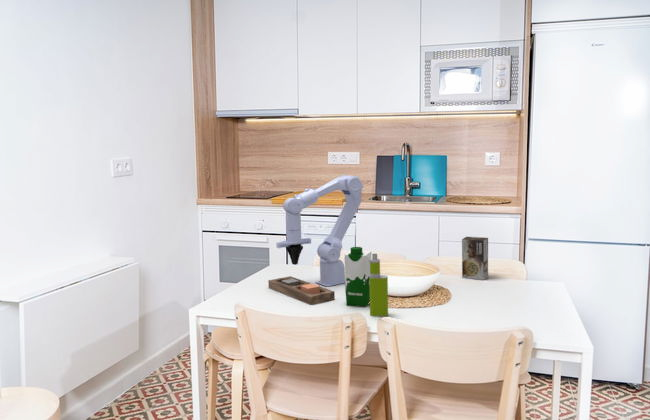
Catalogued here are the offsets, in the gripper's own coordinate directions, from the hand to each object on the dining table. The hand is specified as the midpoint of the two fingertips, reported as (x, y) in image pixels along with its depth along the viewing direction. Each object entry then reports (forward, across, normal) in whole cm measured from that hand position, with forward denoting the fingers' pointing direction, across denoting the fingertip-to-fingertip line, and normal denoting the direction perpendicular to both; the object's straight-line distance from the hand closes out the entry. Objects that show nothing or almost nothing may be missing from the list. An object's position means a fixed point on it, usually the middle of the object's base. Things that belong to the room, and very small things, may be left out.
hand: (294, 264), depth 218 cm
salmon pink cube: (+8, +3, +15) cm, 18 cm away
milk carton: (+10, -6, +32) cm, 34 cm away
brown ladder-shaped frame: (+9, +3, +8) cm, 13 cm away
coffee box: (+10, -64, +34) cm, 73 cm away
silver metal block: (+9, +3, +1) cm, 10 cm away
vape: (+10, -3, +46) cm, 47 cm away
